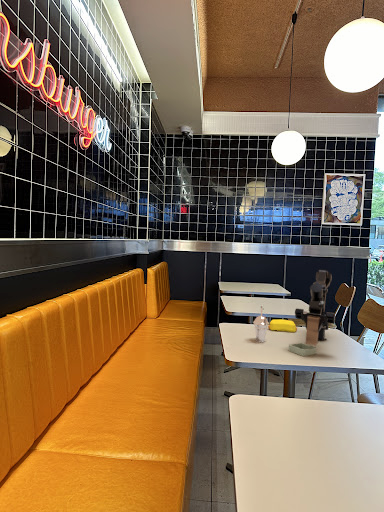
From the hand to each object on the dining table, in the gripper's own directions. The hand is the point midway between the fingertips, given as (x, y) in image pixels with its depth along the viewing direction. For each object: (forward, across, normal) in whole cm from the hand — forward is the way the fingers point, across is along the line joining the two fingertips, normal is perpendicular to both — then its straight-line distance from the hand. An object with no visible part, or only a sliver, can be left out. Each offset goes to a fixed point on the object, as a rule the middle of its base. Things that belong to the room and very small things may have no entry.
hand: (312, 330), depth 166 cm
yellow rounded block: (-19, -22, +38) cm, 48 cm away
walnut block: (+4, 0, +6) cm, 7 cm away
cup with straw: (+3, -28, +15) cm, 32 cm away
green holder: (+7, -4, +10) cm, 13 cm away
